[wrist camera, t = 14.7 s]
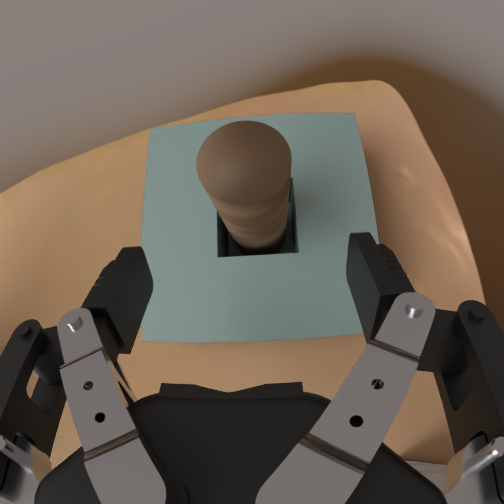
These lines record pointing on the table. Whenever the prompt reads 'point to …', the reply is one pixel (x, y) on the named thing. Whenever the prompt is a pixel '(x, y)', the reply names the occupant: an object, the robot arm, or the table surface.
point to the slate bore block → (256, 266)
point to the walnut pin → (248, 183)
